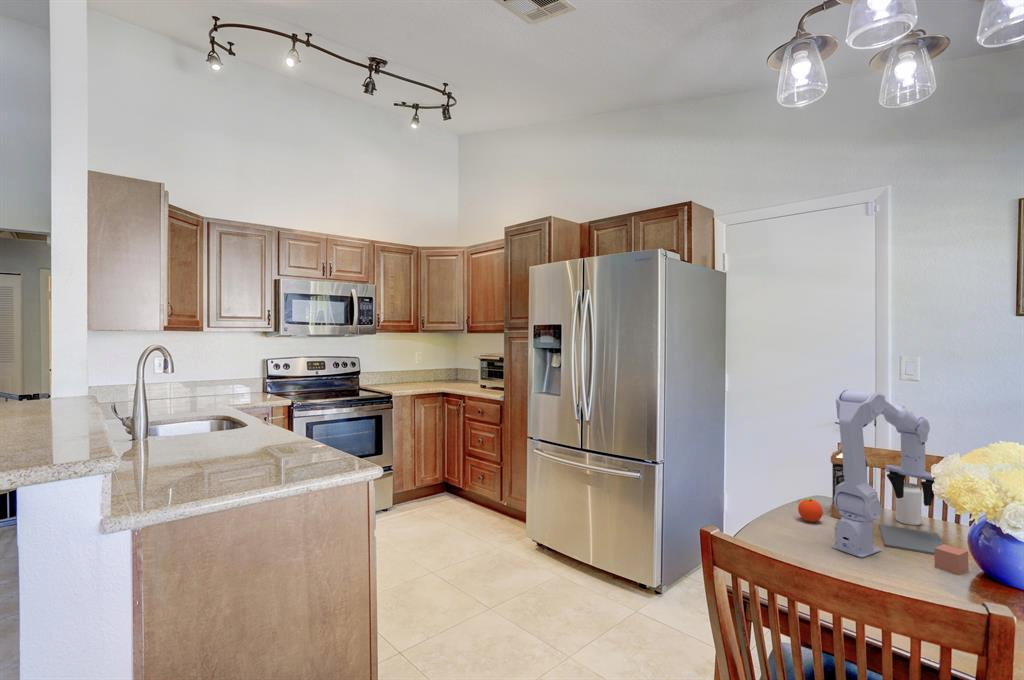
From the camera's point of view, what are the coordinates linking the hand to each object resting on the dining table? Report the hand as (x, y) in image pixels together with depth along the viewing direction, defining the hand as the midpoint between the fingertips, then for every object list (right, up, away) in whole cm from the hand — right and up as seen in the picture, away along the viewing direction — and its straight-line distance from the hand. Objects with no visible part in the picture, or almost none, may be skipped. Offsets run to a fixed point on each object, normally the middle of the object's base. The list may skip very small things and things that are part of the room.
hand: (913, 501), depth 149 cm
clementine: (-24, -10, +12) cm, 29 cm away
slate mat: (-4, -10, -4) cm, 12 cm away
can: (+7, -10, +10) cm, 16 cm away
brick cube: (-8, -10, -22) cm, 26 cm away
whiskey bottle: (-8, -10, +16) cm, 21 cm away
